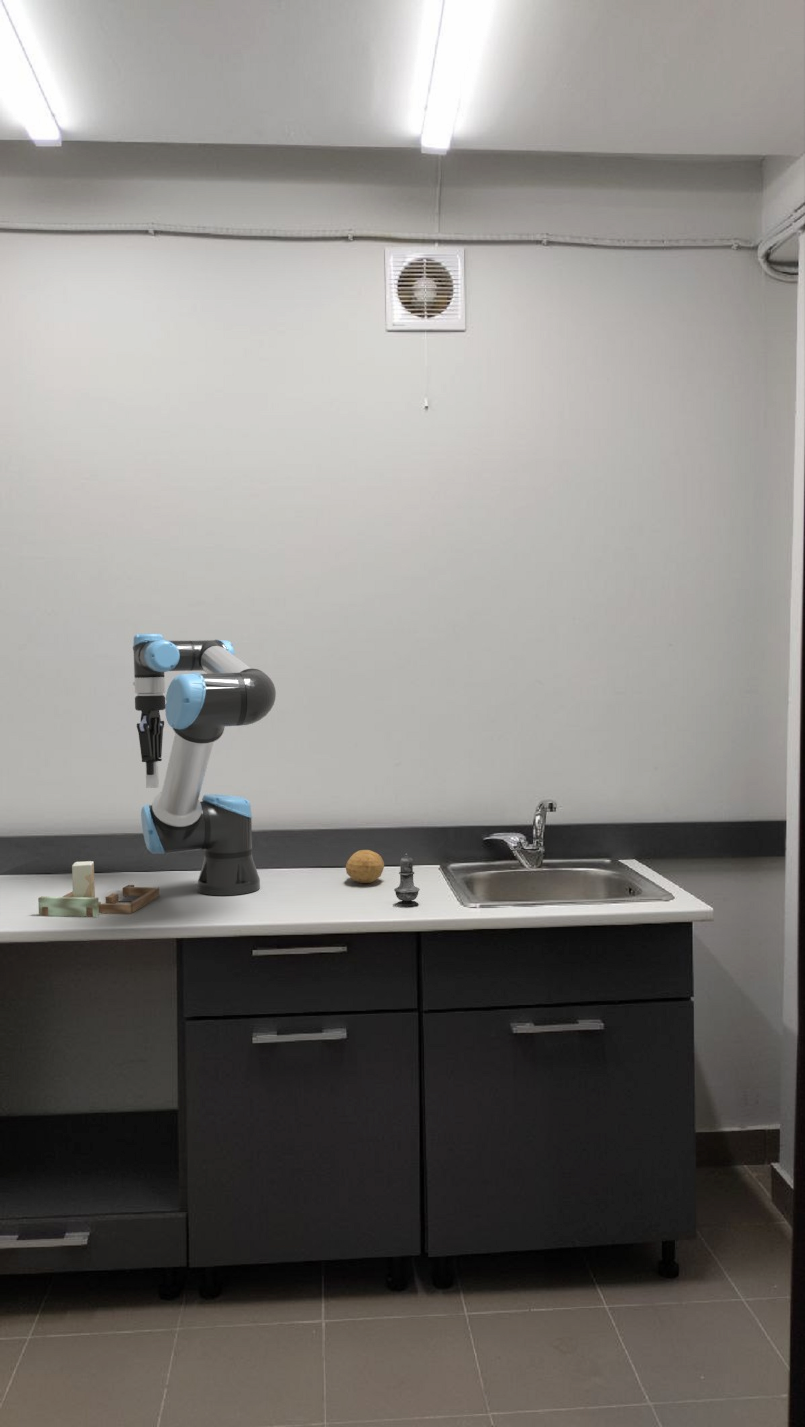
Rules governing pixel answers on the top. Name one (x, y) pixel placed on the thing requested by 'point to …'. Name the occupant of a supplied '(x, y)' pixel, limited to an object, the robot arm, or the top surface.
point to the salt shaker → (406, 884)
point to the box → (83, 879)
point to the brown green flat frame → (97, 903)
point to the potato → (365, 866)
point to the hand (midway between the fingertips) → (152, 787)
